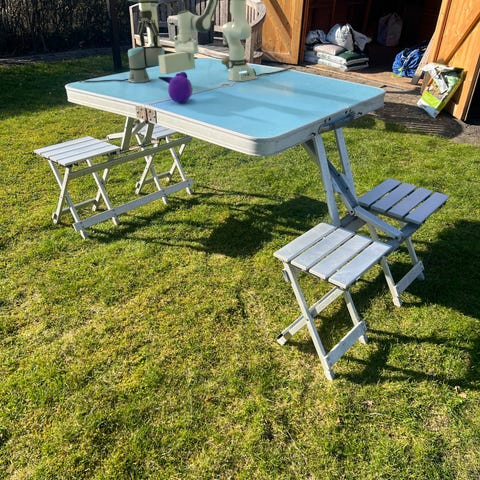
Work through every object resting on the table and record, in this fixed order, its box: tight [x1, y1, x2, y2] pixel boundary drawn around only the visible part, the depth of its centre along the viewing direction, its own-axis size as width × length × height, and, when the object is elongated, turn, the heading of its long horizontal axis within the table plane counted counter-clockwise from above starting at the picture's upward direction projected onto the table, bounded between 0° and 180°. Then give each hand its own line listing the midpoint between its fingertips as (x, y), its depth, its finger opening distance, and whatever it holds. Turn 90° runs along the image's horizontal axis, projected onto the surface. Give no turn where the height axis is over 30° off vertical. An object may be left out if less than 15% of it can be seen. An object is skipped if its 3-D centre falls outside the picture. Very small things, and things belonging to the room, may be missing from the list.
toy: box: [158, 71, 193, 103], centre depth 279 cm, size 16×18×27 cm
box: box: [158, 51, 196, 75], centre depth 301 cm, size 26×6×11 cm, turn 138°
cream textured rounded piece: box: [221, 54, 230, 71], centre depth 369 cm, size 21×12×15 cm, turn 120°
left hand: (149, 47), depth 290 cm, fingers open, 13 cm apart
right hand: (187, 59), depth 306 cm, fingers closed on box, 6 cm apart
